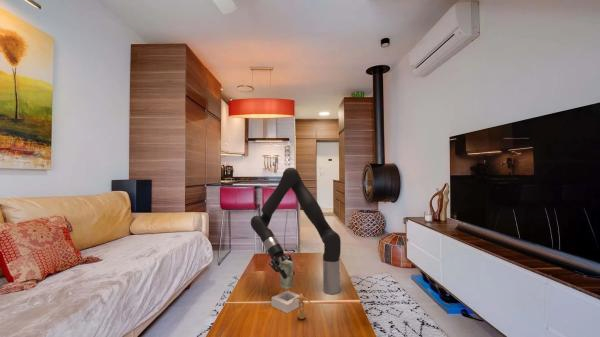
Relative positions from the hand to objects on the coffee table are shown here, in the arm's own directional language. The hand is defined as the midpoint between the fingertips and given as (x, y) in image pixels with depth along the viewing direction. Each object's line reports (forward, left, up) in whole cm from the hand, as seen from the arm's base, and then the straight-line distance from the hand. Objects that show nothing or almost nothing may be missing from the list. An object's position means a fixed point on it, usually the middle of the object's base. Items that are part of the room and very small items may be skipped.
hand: (289, 276), depth 127 cm
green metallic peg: (0, -2, -5) cm, 6 cm away
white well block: (0, -2, -15) cm, 15 cm away
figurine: (+5, +12, -15) cm, 20 cm away
